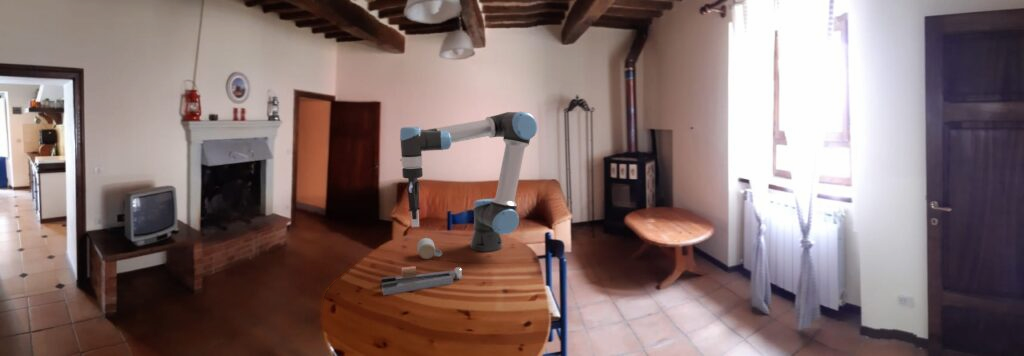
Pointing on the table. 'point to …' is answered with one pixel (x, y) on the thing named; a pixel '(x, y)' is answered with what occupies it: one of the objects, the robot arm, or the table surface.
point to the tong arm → (420, 275)
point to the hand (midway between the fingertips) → (415, 226)
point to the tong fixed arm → (414, 285)
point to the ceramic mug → (427, 249)
